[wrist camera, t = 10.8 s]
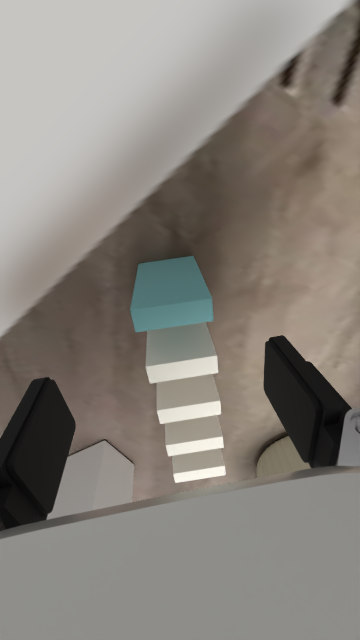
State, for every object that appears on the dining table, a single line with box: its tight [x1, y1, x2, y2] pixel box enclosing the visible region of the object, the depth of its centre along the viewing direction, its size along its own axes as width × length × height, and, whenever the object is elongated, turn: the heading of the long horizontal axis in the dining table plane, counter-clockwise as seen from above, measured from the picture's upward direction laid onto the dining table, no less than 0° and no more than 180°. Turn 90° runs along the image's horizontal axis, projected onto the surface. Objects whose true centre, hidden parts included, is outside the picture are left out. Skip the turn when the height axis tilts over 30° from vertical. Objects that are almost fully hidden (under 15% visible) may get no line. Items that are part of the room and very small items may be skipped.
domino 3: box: [157, 374, 221, 424], centre depth 24 cm, size 5×2×9 cm, turn 97°
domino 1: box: [130, 256, 214, 332], centre depth 20 cm, size 5×2×9 cm, turn 97°
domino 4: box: [165, 415, 224, 456], centre depth 27 cm, size 5×2×9 cm, turn 97°
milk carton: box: [46, 441, 134, 520], centre depth 29 cm, size 7×7×19 cm
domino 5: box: [172, 448, 226, 483], centre depth 29 cm, size 5×2×9 cm, turn 97°
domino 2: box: [146, 322, 218, 383], centre depth 22 cm, size 5×2×9 cm, turn 98°
